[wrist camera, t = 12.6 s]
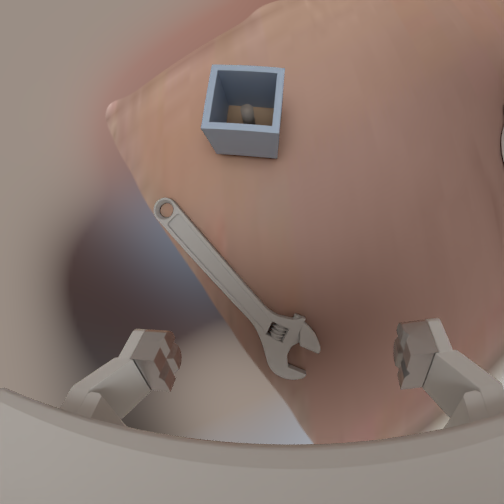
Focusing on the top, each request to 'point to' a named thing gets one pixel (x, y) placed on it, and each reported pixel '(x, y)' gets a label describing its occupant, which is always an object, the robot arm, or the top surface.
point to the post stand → (250, 115)
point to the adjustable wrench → (242, 295)
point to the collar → (237, 94)
